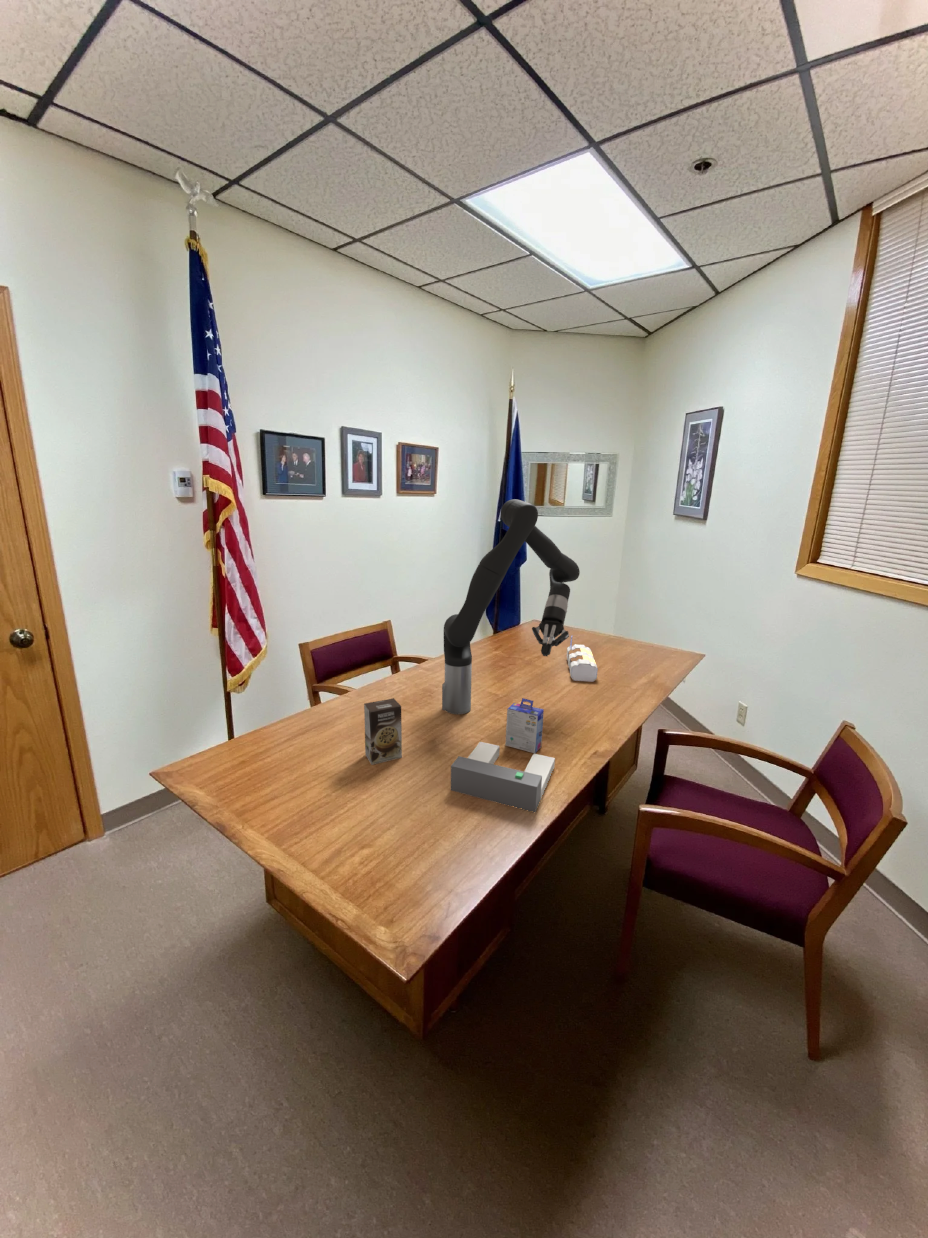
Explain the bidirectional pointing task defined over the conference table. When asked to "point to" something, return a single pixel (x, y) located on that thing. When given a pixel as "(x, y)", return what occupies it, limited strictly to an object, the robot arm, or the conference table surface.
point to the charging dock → (501, 778)
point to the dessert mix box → (383, 731)
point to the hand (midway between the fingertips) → (544, 655)
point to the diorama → (582, 663)
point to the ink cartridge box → (524, 726)
